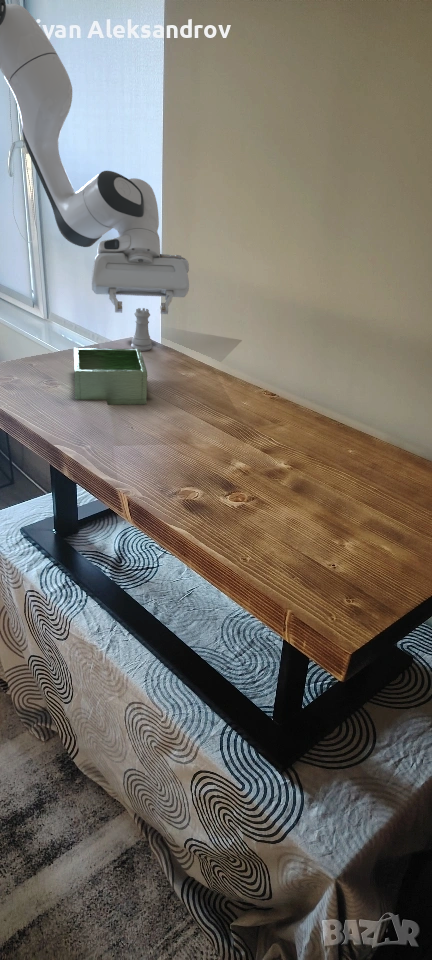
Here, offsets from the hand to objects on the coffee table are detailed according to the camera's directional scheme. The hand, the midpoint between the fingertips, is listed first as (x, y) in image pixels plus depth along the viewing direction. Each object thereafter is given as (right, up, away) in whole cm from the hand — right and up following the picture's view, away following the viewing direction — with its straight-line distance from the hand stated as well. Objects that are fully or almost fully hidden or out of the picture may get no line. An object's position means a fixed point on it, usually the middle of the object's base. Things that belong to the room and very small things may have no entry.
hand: (141, 312), depth 129 cm
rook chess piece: (0, -7, +1) cm, 7 cm away
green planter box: (-3, -19, -21) cm, 29 cm away
